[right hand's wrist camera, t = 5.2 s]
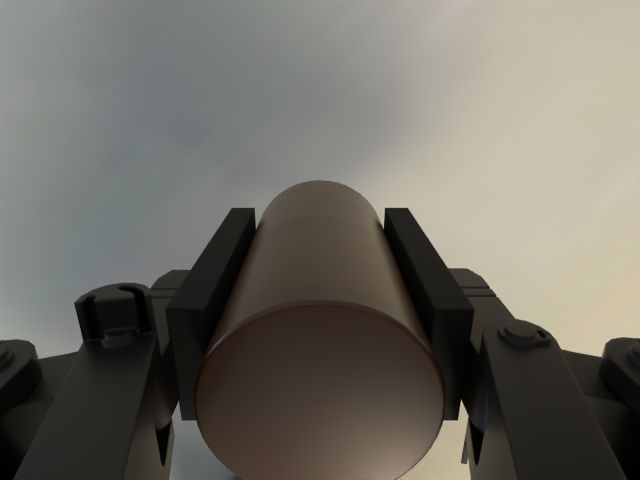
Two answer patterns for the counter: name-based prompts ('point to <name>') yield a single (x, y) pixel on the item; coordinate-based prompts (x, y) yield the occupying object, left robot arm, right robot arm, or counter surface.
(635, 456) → the right robot arm
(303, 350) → the walnut peg
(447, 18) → the counter surface
